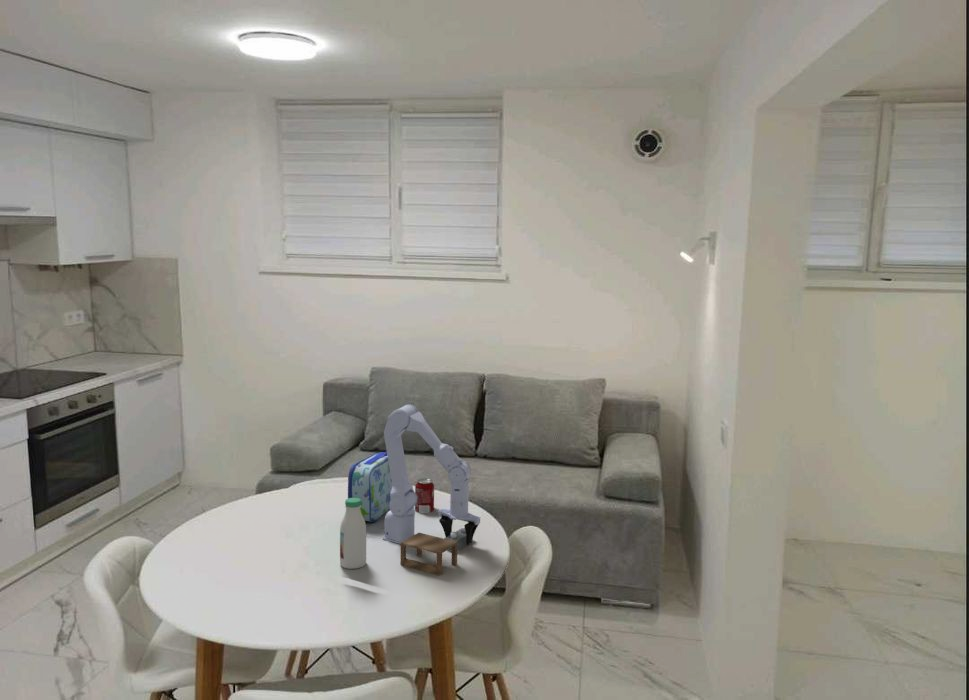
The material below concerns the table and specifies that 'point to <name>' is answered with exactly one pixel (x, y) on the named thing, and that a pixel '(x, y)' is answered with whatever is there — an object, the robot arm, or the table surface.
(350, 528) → the milk bottle
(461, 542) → the grey rectangular block
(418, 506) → the soda can
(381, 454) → the lunch box
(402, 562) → the wooden footstool
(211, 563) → the table surface
